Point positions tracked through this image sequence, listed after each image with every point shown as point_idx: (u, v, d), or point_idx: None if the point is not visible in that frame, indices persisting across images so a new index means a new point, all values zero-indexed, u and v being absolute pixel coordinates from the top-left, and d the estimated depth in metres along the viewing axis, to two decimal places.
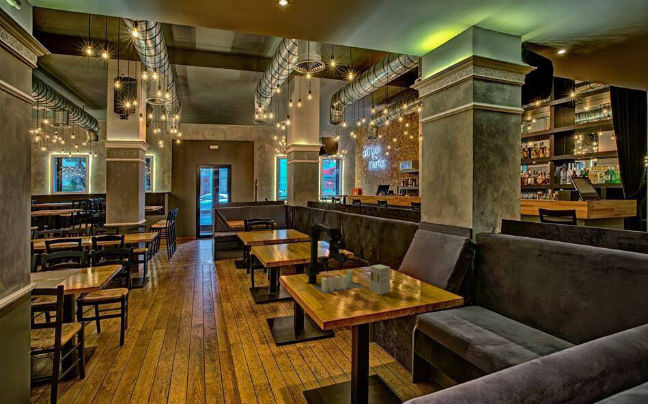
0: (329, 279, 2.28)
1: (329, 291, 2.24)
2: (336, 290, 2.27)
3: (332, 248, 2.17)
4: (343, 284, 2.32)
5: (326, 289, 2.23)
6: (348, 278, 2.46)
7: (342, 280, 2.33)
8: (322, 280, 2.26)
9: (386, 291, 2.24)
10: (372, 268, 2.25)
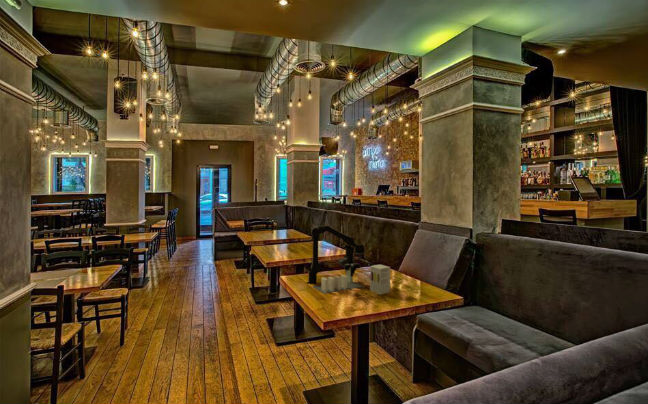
0: (329, 279, 2.28)
1: (329, 291, 2.24)
2: (336, 290, 2.27)
3: None
4: (343, 284, 2.32)
5: (326, 289, 2.23)
6: (348, 278, 2.46)
7: (342, 280, 2.33)
8: (322, 280, 2.26)
9: (386, 291, 2.24)
10: (372, 268, 2.25)
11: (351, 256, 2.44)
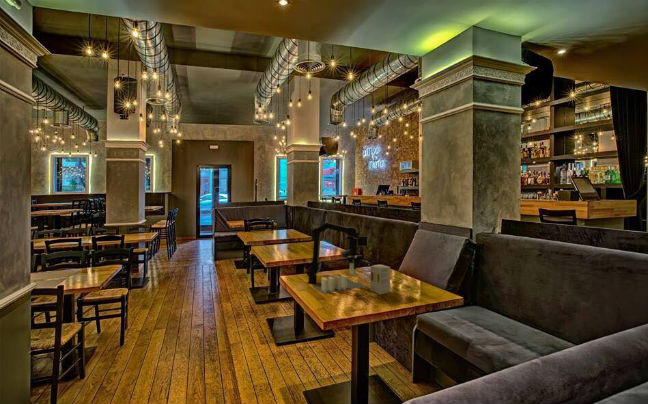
0: (329, 279, 2.28)
1: (329, 291, 2.24)
2: (336, 290, 2.27)
3: None
4: (343, 284, 2.32)
5: (326, 289, 2.23)
6: (351, 271, 2.35)
7: (342, 280, 2.33)
8: (322, 280, 2.26)
9: (386, 291, 2.24)
10: (372, 268, 2.25)
11: (354, 248, 2.33)
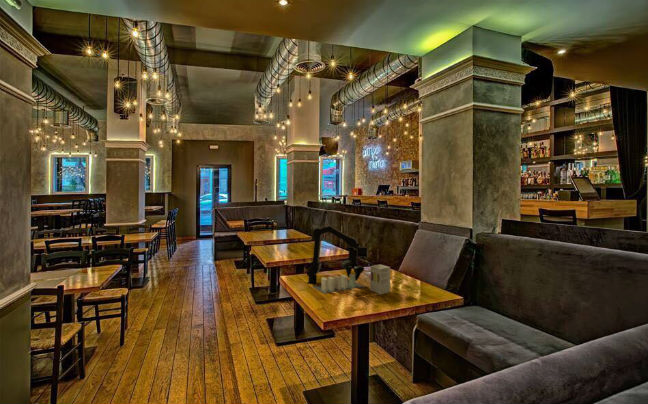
0: (329, 279, 2.28)
1: (329, 291, 2.24)
2: (336, 290, 2.27)
3: None
4: (343, 284, 2.32)
5: (326, 289, 2.23)
6: (351, 282, 2.36)
7: (342, 280, 2.33)
8: (322, 280, 2.26)
9: (386, 291, 2.24)
10: (372, 268, 2.25)
11: (354, 258, 2.33)
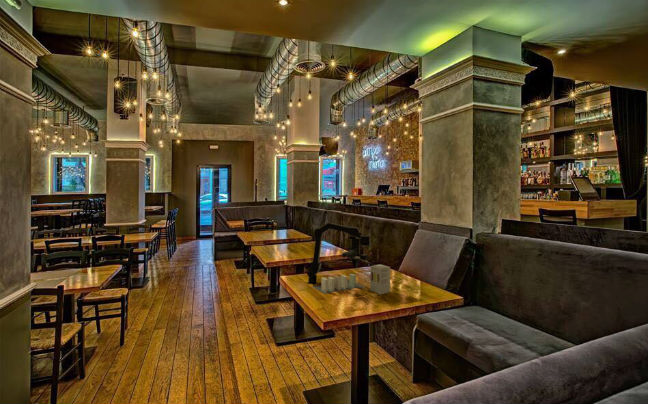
0: (329, 279, 2.28)
1: (329, 291, 2.24)
2: (336, 290, 2.27)
3: (351, 246, 2.35)
4: (343, 284, 2.32)
5: (326, 289, 2.23)
6: (351, 282, 2.36)
7: (342, 280, 2.33)
8: (322, 280, 2.26)
9: (386, 291, 2.24)
10: (372, 268, 2.25)
11: (358, 247, 2.34)
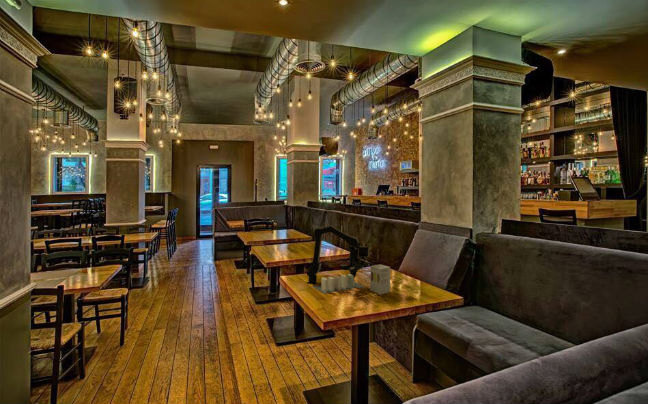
0: (329, 279, 2.28)
1: (329, 291, 2.24)
2: (336, 290, 2.27)
3: (353, 257, 2.33)
4: (343, 284, 2.32)
5: (326, 289, 2.23)
6: (350, 282, 2.35)
7: (342, 280, 2.33)
8: (322, 280, 2.26)
9: (386, 291, 2.24)
10: (372, 268, 2.25)
11: None
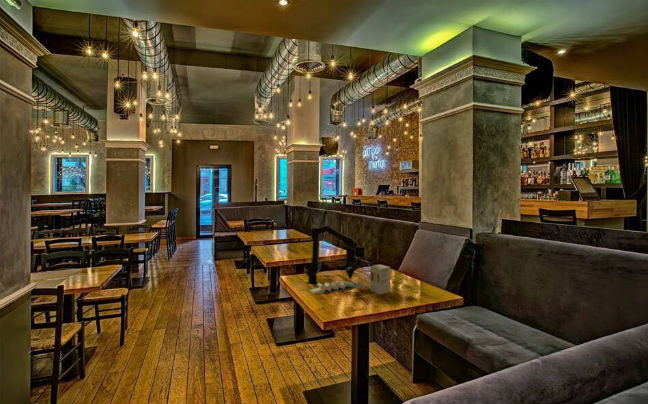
0: (319, 286, 2.24)
1: (329, 291, 2.24)
2: (336, 290, 2.27)
3: (349, 257, 2.32)
4: (340, 287, 2.30)
5: (322, 291, 2.22)
6: (348, 285, 2.34)
7: None
8: None
9: (386, 291, 2.24)
10: (372, 268, 2.25)
11: None
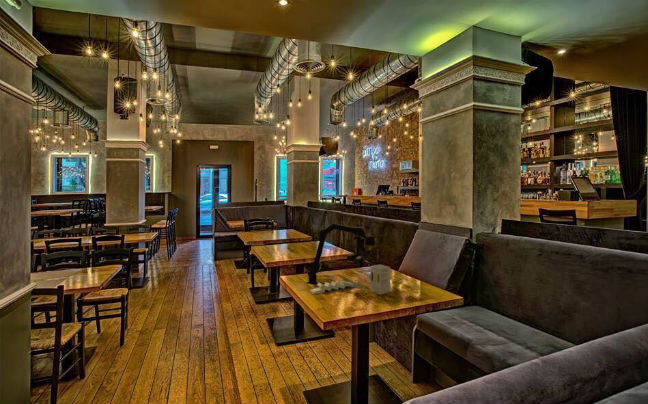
0: (319, 286, 2.24)
1: (329, 291, 2.24)
2: (336, 290, 2.27)
3: (359, 246, 2.35)
4: (340, 287, 2.30)
5: (322, 291, 2.22)
6: (348, 285, 2.34)
7: None
8: None
9: (386, 291, 2.24)
10: (372, 268, 2.25)
11: None
